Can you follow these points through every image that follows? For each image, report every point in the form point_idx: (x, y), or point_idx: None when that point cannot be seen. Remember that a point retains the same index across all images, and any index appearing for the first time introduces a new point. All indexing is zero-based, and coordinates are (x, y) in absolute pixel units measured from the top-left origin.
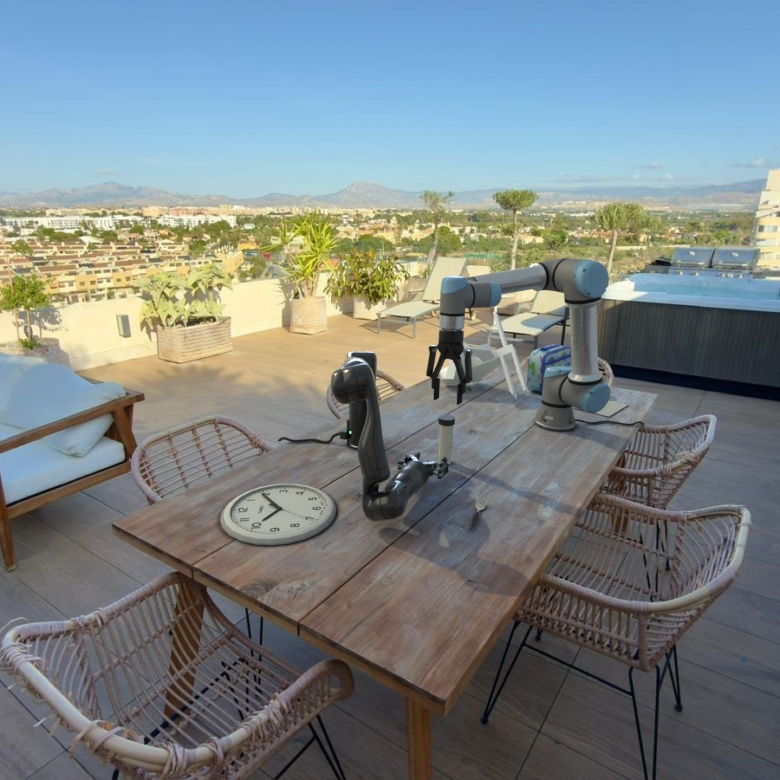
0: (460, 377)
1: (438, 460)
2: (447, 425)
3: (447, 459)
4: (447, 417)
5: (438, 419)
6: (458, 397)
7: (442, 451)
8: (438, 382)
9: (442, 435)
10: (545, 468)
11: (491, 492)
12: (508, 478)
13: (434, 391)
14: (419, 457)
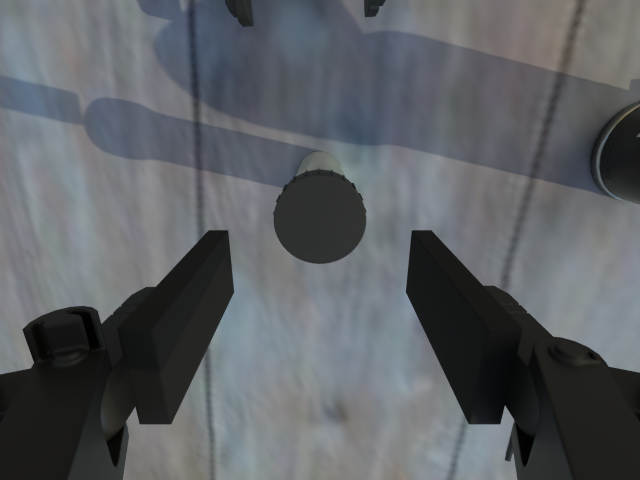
0: (42, 418)
1: (335, 158)
2: (297, 176)
3: (302, 161)
4: (316, 223)
5: (361, 197)
6: (194, 253)
7: (319, 157)
8: (458, 357)
9: (323, 166)
10: (53, 293)
11: (86, 41)
12: (99, 173)
13: (450, 259)
14: (365, 11)
